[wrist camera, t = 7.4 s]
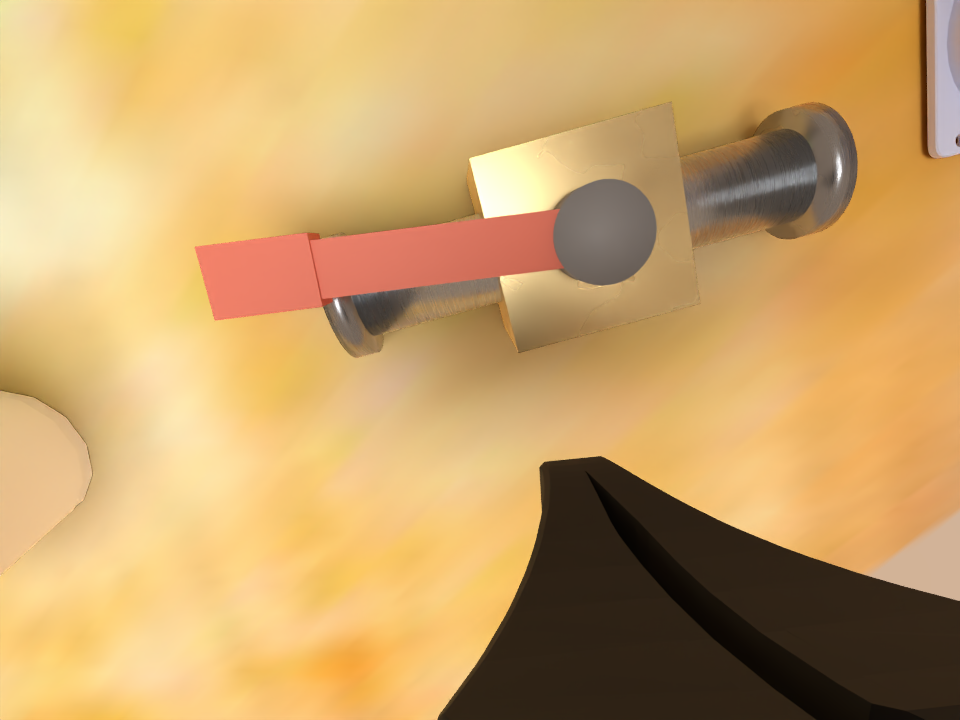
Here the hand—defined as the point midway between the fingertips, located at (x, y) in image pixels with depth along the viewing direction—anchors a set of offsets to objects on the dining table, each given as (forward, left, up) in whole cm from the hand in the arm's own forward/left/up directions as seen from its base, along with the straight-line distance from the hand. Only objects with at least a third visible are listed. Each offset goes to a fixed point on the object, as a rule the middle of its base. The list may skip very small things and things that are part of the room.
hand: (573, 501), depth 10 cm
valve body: (-3, -5, -10) cm, 12 cm away
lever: (+2, -6, -5) cm, 8 cm away
